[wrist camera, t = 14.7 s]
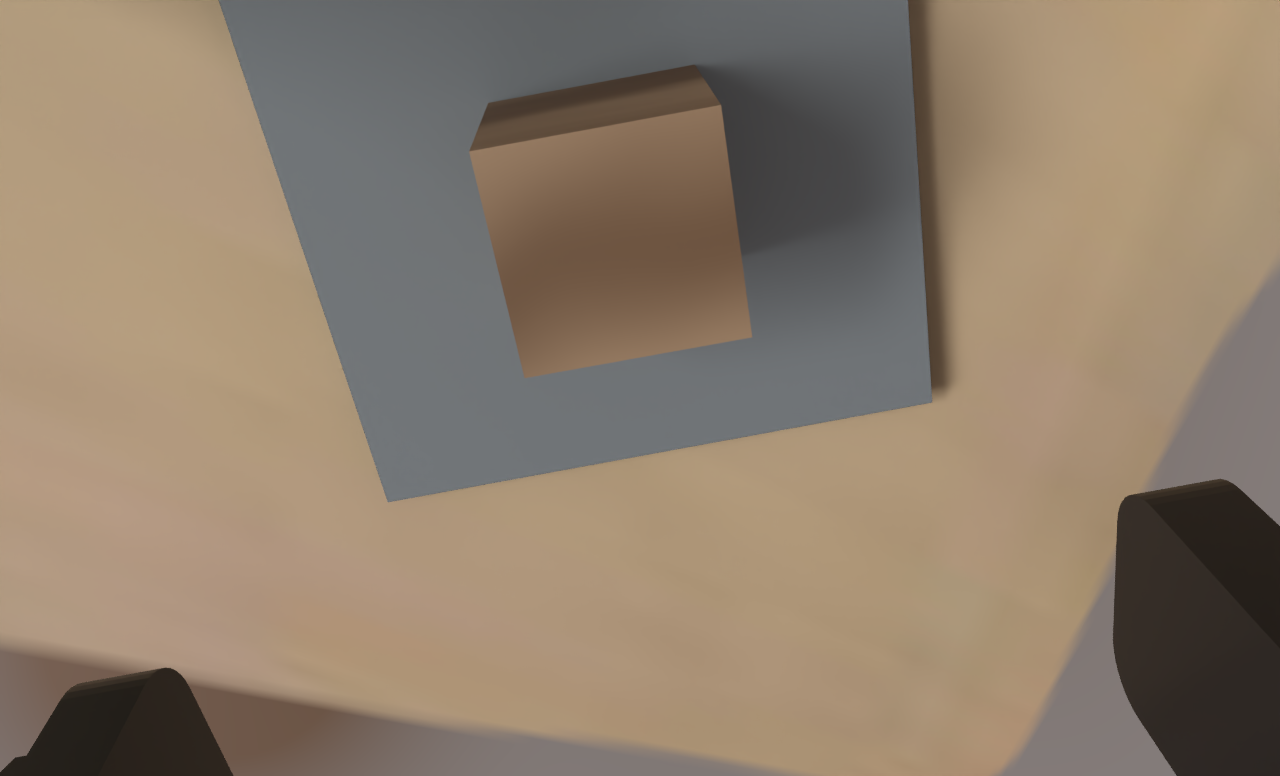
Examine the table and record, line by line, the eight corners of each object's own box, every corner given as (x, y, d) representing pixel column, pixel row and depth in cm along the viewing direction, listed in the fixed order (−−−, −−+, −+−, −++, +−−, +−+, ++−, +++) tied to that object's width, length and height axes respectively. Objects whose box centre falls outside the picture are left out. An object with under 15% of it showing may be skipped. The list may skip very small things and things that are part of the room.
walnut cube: (488, 103, 22) (469, 151, 18) (694, 64, 22) (721, 104, 18) (533, 295, 24) (524, 378, 20) (722, 261, 24) (752, 337, 20)
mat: (197, -94, 21) (187, -93, 20) (885, -232, 21) (893, -235, 20) (391, 489, 27) (387, 502, 27) (924, 391, 27) (932, 402, 26)
